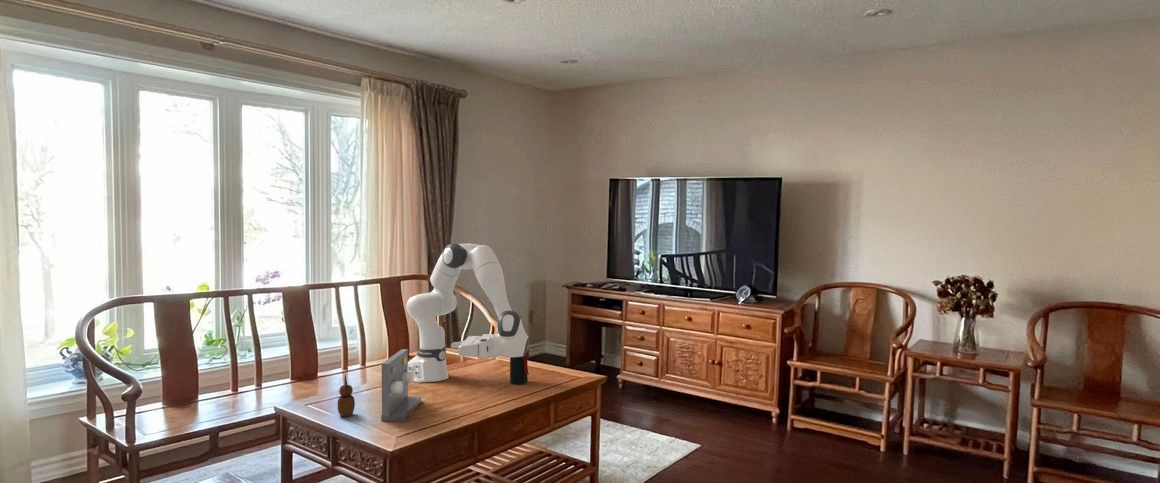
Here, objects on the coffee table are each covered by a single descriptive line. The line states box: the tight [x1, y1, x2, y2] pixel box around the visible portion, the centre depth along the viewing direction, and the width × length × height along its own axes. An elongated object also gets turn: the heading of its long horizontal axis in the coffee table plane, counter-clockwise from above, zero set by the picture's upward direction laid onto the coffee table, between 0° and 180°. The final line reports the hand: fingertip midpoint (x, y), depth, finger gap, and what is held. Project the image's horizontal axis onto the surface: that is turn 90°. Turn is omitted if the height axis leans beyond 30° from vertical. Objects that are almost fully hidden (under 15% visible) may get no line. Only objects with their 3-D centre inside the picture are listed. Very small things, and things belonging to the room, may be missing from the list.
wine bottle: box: [509, 314, 530, 386], centre depth 291 cm, size 8×10×30 cm
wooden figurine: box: [337, 373, 356, 418], centre depth 244 cm, size 7×6×15 cm
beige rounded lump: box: [402, 372, 414, 384], centre depth 257 cm, size 3×4×4 cm
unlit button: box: [391, 381, 403, 394], centre depth 243 cm, size 3×4×4 cm
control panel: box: [380, 348, 422, 422], centre depth 250 cm, size 8×24×21 cm, turn 178°
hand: (451, 345), depth 256 cm, fingers closed
